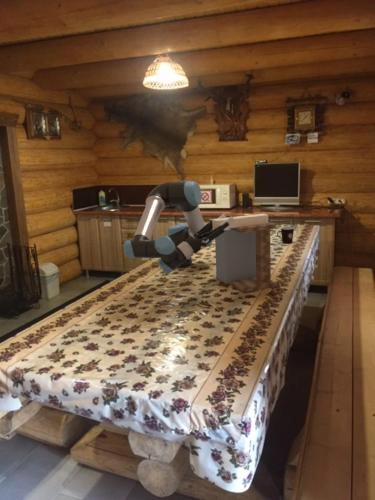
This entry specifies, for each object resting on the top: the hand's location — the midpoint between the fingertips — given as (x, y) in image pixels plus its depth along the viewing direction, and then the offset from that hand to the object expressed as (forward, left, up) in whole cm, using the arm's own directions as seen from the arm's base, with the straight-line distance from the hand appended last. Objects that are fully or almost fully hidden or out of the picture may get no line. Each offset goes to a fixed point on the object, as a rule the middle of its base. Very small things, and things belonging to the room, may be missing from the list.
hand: (229, 217), depth 190 cm
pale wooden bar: (+6, +2, -4) cm, 7 cm away
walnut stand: (+11, +3, -34) cm, 36 cm away
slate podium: (+6, +17, -34) cm, 39 cm away
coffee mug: (+54, +88, -35) cm, 109 cm away
